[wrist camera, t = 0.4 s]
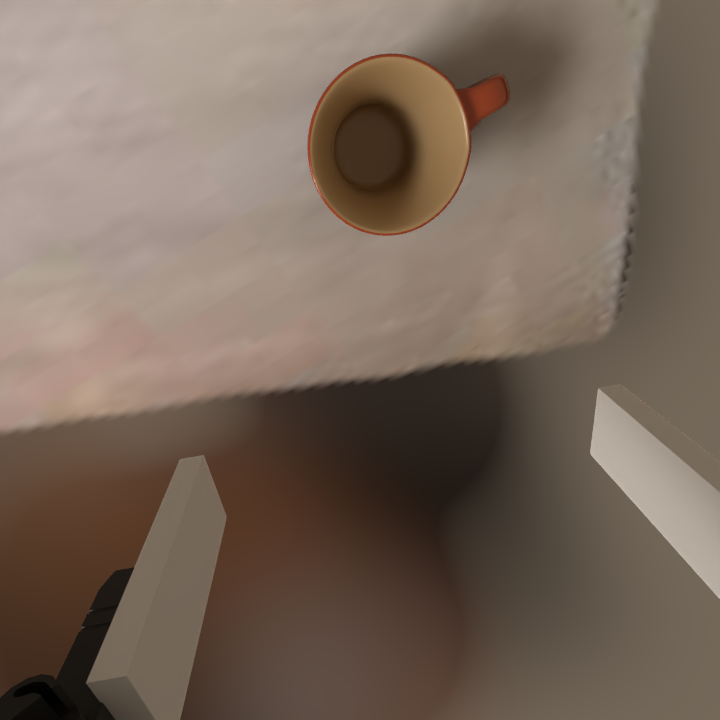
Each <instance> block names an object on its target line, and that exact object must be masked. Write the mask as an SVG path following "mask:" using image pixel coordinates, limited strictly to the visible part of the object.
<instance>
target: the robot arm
mask: <svg viewBox="0 0 720 720" xmlns="http://www.w3.org/2000/svg"><path fill="white" fill-rule="evenodd" d="M590 454H591V455H592V456H593V458H594V459H595V460H596V461H597V462H598V463H599V464H600V465H601V467H602V468H603V469H604V470H605V471H606V472H607V473H608V474H609V476H611V478H612V479H613V480H614V481H615V482H616V483H617V484H618V485H619V486H620V488H621V489H622V490H623V491H624V492H625V493H626V495H627V496H628V497H629V498H630V499H631V500H632V501H633V502H634V503H635V505H636V506H637V507H638V508H639V509H640V510H641V511H642V512H643V514H644V515H645V516H646V517H647V518H648V519H649V520H650V521H651V523H652V524H653V525H654V526H655V527H656V528H657V529H658V530H659V532H660V533H661V534H662V535H663V536H664V537H665V538H666V539H667V540H668V541H669V543H670V544H671V545H672V546H673V547H674V548H675V549H676V551H677V552H678V553H679V554H680V555H681V556H682V557H683V558H684V559H685V561H686V562H687V563H688V564H689V565H690V566H691V567H692V568H693V570H694V571H695V572H696V573H697V574H698V575H699V576H700V577H701V578H702V580H703V581H704V582H705V583H706V584H707V585H708V586H709V588H710V589H711V590H712V591H713V592H714V593H715V594H716V595H717V596H718V598H719V599H720V462H719V461H718V460H717V459H716V458H714V457H713V456H712V455H710V454H709V453H708V452H706V451H705V450H704V449H702V448H701V447H700V446H699V445H697V444H696V443H695V442H694V441H693V440H691V439H690V438H689V437H687V436H686V435H685V434H684V433H682V432H681V431H680V430H678V429H677V428H676V427H675V426H673V425H672V424H671V423H670V422H668V421H667V420H666V419H664V418H663V417H662V416H661V415H659V414H658V413H657V412H655V411H654V410H653V409H651V408H650V407H649V406H648V405H647V404H645V403H644V402H643V401H641V400H640V399H639V398H638V397H636V396H635V395H634V394H632V393H631V392H630V391H629V390H627V389H626V388H625V387H624V386H622V385H621V384H620V385H614V386H608V387H602V388H598V394H597V402H596V412H595V419H594V427H593V436H592V443H591V451H590ZM226 518H227V517H226V514H225V511H224V509H223V506H222V503H221V501H220V498H219V495H218V492H217V490H216V487H215V485H214V482H213V479H212V476H211V474H210V471H209V468H208V466H207V463H206V460H205V458H204V455H202V456H196V457H190V458H184V459H180V461H179V463H178V465H177V468H176V470H175V473H174V475H173V477H172V479H171V482H170V484H169V487H168V489H167V491H166V494H165V496H164V499H163V501H162V503H161V506H160V508H159V510H158V513H157V515H156V518H155V520H154V522H153V525H152V527H151V529H150V532H149V534H148V537H147V539H146V541H145V544H144V546H143V549H142V551H141V553H140V556H139V558H138V561H137V563H136V565H135V567H134V568H129V569H122V570H117V571H115V572H114V573H113V574H112V575H111V576H110V578H109V579H108V580H107V581H106V582H105V583H104V585H103V586H102V587H101V588H100V589H99V591H98V593H97V595H96V597H95V600H94V602H93V604H92V606H91V608H90V610H89V611H90V612H89V614H87V616H86V618H85V620H84V622H83V624H82V627H81V632H79V633H78V635H77V637H76V639H75V641H74V644H73V645H72V647H71V650H70V652H69V654H68V656H67V658H66V660H65V662H64V664H63V666H62V668H61V670H60V672H59V675H58V677H57V679H56V680H55V678H54V677H53V676H50V675H43V674H41V675H37V676H34V677H30V678H27V679H25V680H24V681H22V682H21V683H19V684H17V685H15V686H13V687H12V688H11V689H10V690H8V692H6V693H5V694H4V695H3V696H2V697H1V698H0V720H180V717H181V713H182V708H183V704H184V699H185V695H186V691H187V687H188V682H189V678H190V674H191V669H192V665H193V661H194V656H195V652H196V648H197V643H198V639H199V635H200V630H201V626H202V622H203V617H204V613H205V609H206V604H207V600H208V596H209V591H210V587H211V582H212V578H213V574H214V569H215V565H216V561H217V557H218V552H219V548H220V544H221V539H222V535H223V530H224V525H225V522H226Z"/></svg>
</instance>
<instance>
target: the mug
mask: <svg viewBox="0 0 720 720" xmlns="http://www.w3.org/2000/svg"><path fill="white" fill-rule="evenodd" d="M509 99H510V91H509V86H508V83H507V80H506V78H505V76H504V75H503V74H495V75H492V76H490V77H487V78H485V79H483V80H481V81H479V82H477V83H475V84H473V85H471V86H469V87H467V88H464V89H458V90H456V88H455V87H454V85H453V84H452V82H451V81H450V80H449V79H448V78H447V77H446V76H445V75H444V74H442V73H441V72H440V71H439V70H437V69H436V68H434V67H433V66H431V65H430V64H428V63H426V62H424V61H422V60H420V59H417V58H415V57H411V56H407V55H402V54H380V55H375V56H371V57H368V58H365V59H362V60H360V61H358V62H356V63H354V64H353V65H351V66H350V67H348V68H346V69H345V70H344V71H343V72H341V73H340V74H339V75H338V76H337V77H336V78H335V79H334V80H333V81H332V82H331V83H330V85H329V86H328V87H327V89H326V90H325V91H324V93H323V94H322V96H321V98H320V100H319V102H318V104H317V106H316V108H315V111H314V113H313V116H312V119H311V123H310V128H309V134H308V161H309V167H310V171H311V175H312V178H313V181H314V184H315V186H316V189H317V191H318V193H319V194H320V196H321V198H322V199H323V201H324V202H325V204H326V205H327V206H328V208H329V209H330V210H331V211H332V212H333V213H334V214H335V215H336V216H337V217H338V218H339V219H341V220H342V221H343V222H345V223H346V224H348V225H349V226H351V227H353V228H355V229H357V230H360V231H362V232H366V233H369V234H374V235H383V236H387V235H399V234H403V233H407V232H410V231H413V230H416V229H418V228H420V227H422V226H424V225H425V224H427V223H429V222H430V221H431V220H433V219H434V218H435V217H437V216H438V215H439V214H440V213H441V212H442V211H443V210H444V209H445V208H446V207H447V205H448V204H449V203H450V202H451V200H452V199H453V197H454V196H455V194H456V193H457V191H458V189H459V187H460V185H461V183H462V181H463V178H464V175H465V172H466V169H467V166H468V161H469V157H470V152H471V135H470V130H472V129H473V128H474V127H475V126H476V125H477V124H478V123H479V122H480V121H481V120H482V119H484V118H485V117H487V116H488V115H490V114H492V113H494V112H495V111H497V110H499V109H501V108H502V107H503V106H505V105H506V104H507V103H508V101H509Z"/></svg>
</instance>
